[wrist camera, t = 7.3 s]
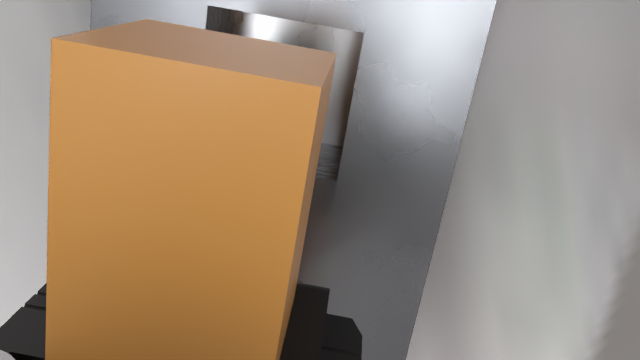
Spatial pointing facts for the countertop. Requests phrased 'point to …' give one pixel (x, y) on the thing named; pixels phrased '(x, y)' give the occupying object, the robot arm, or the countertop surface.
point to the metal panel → (365, 136)
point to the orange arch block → (178, 191)
